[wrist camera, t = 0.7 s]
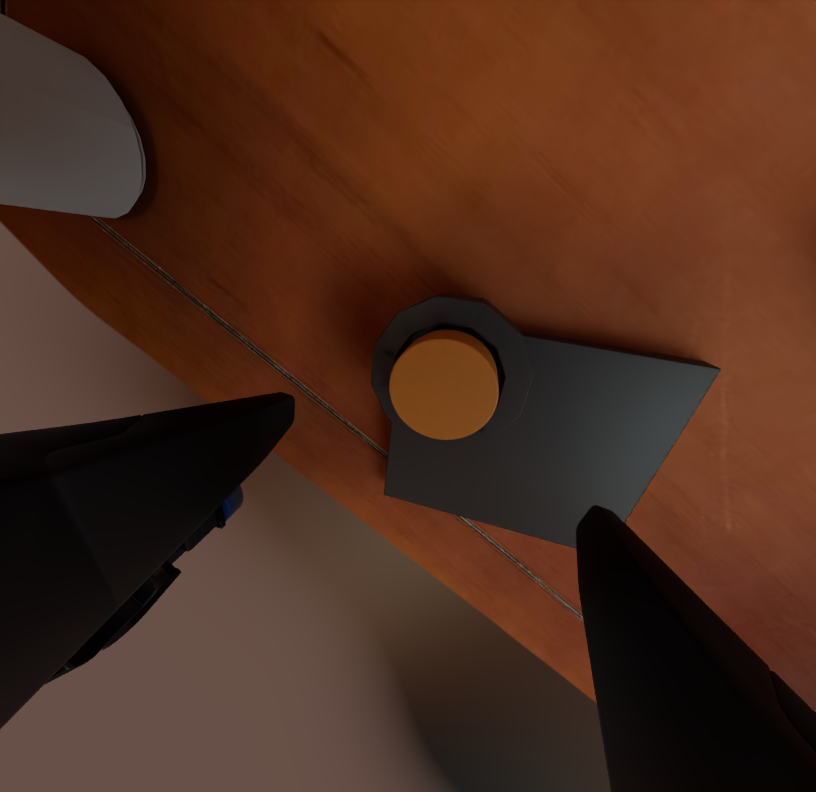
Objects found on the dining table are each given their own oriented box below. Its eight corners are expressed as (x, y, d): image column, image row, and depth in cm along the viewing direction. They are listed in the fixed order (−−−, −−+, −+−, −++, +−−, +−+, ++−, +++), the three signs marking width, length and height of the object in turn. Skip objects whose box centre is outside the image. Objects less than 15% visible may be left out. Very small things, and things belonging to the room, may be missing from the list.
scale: (376, 480, 22) (361, 509, 20) (395, 282, 16) (377, 286, 14) (597, 541, 20) (614, 583, 17) (722, 331, 14) (779, 347, 11)
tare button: (395, 409, 16) (384, 427, 15) (405, 320, 14) (394, 329, 12) (484, 429, 16) (484, 451, 14) (509, 338, 13) (512, 350, 12)
